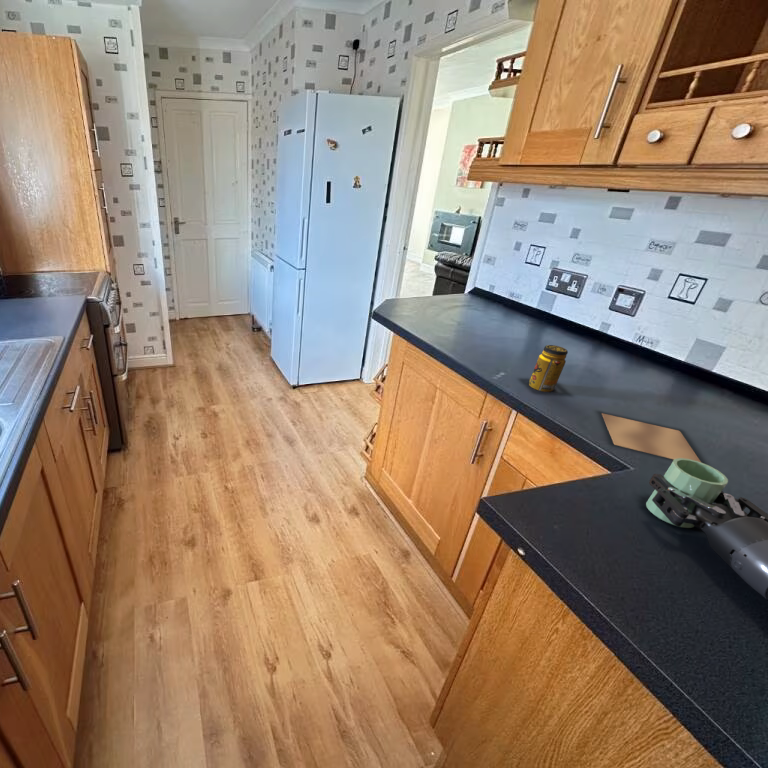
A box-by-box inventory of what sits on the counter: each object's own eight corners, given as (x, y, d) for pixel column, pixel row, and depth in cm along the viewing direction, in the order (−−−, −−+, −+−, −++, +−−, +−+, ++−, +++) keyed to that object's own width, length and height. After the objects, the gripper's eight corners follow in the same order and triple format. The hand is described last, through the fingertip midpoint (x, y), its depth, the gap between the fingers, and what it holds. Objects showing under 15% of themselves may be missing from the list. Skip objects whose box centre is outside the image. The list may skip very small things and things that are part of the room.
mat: (678, 432, 96) (679, 430, 96) (703, 468, 84) (704, 467, 84) (600, 414, 102) (601, 413, 102) (613, 446, 90) (614, 444, 90)
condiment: (521, 381, 117) (536, 342, 111) (552, 383, 116) (569, 344, 111) (534, 394, 110) (551, 353, 105) (567, 396, 110) (585, 355, 104)
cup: (686, 510, 74) (718, 466, 69) (700, 535, 69) (735, 489, 64) (640, 496, 76) (667, 453, 72) (650, 520, 71) (680, 475, 66)
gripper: (845, 548, 55) (735, 467, 69) (724, 534, 56) (641, 458, 71) (807, 585, 58) (710, 501, 73) (695, 570, 60) (621, 491, 74)
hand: (676, 480), depth 72 cm, fingers closed on cup, 6 cm apart
